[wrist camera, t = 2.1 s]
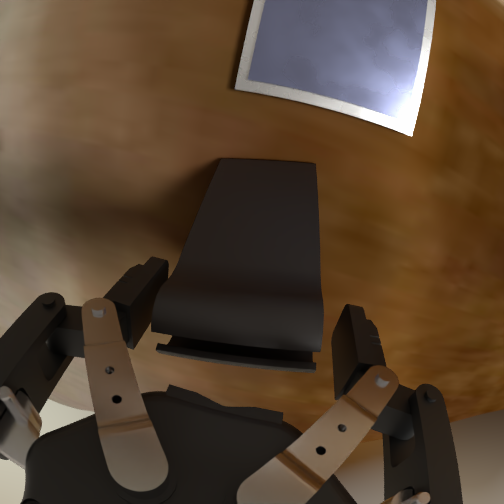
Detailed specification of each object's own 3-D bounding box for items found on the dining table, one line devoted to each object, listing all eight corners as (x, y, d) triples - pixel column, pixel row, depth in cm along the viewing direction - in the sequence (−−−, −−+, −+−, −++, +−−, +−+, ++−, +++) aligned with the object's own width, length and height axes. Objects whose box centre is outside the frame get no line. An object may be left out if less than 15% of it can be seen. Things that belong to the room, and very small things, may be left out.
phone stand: (222, 157, 19) (131, 225, 8) (316, 162, 18) (344, 242, 8) (223, 276, 23) (171, 407, 13) (303, 284, 22) (300, 425, 12)
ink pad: (237, 89, 17) (233, 88, 16) (270, -50, 12) (268, -59, 11) (406, 134, 16) (413, 136, 15) (431, -5, 11) (438, -10, 10)
